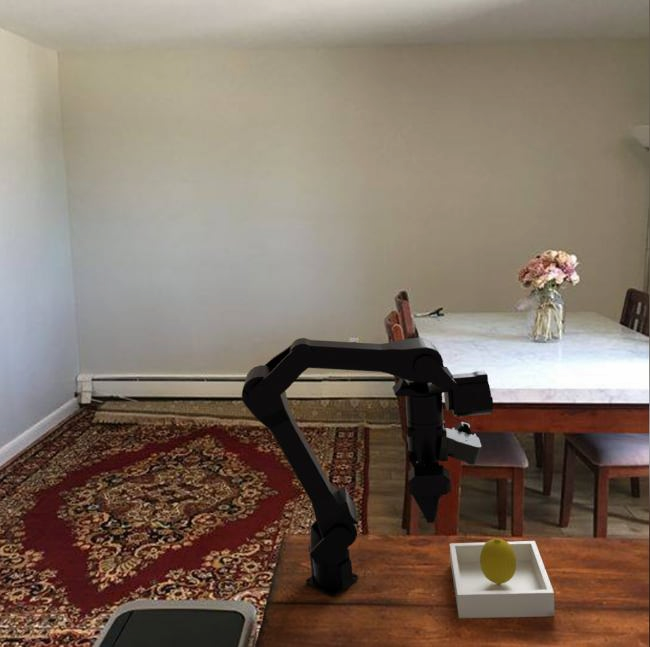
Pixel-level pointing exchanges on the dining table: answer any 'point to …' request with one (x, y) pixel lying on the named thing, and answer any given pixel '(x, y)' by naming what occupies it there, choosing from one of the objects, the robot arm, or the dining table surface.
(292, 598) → the dining table surface
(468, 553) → the box
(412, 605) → the dining table surface
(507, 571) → the lemon
